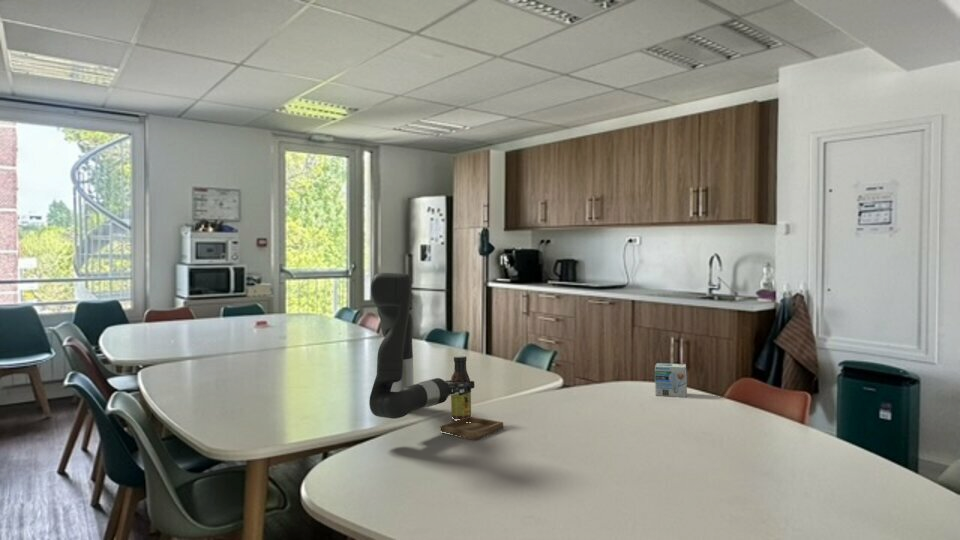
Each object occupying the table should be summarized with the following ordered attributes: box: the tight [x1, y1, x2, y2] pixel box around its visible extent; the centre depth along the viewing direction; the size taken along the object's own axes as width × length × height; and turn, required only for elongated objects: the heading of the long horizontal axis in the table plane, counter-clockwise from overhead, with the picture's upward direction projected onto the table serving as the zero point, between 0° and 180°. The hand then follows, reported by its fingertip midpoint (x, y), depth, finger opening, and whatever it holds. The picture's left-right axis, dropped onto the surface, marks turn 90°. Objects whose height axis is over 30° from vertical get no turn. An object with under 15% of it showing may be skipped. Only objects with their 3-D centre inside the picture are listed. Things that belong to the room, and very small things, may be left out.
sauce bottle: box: [450, 355, 472, 419], centre depth 175 cm, size 6×6×20 cm
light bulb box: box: [654, 362, 688, 398], centre depth 200 cm, size 11×7×11 cm, turn 68°
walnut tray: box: [439, 416, 504, 441], centre depth 161 cm, size 13×13×2 cm
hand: (465, 383), depth 177 cm, fingers closed on sauce bottle, 6 cm apart
